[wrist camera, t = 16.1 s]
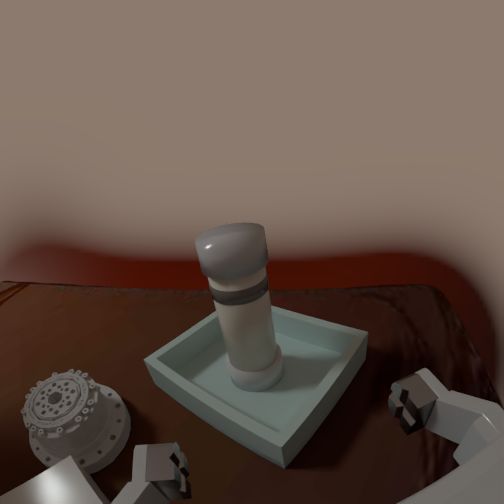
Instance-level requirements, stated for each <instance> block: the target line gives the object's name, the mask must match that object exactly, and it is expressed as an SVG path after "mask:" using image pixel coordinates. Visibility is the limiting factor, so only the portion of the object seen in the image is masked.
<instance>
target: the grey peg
mask: <svg viewBox="0 0 504 504" xmlns="http://www.w3.org/2000/svg"><path fill="white" fill-rule="evenodd" d="M195 244H196V248H197V253H198V257H199V261H200V265H201V269H202V273H203V274H204V275H205V276H207V277H208V279H209V286H210V290H211V294H212V298H213V299H214V303H215V307H216V311H217V315H218V319H219V323H220V327H221V331H222V334H223V338H224V342H225V346H226V349H227V355H226V364H227V367H228V371H229V374H230V377H231V381H232V383H233V384H234V385H235V386H236V387H237V388H239V389H241V390H243V391H247V392H260V391H264V390H267V389H270V388H272V387H273V386H275V385H276V384H277V383H278V382H279V381H280V380H281V378H282V376H283V373H284V368H283V360H282V352H281V348H280V346H279V345H278V344H277V343H276V337H275V331H274V324H273V317H272V310H271V303H270V296H269V290H268V288H269V285H268V278H267V272H266V269H265V265H266V264H267V263H268V260H269V259H268V251H267V244H266V238H265V231H264V227H263V226H261V225H259V224H255V223H234V224H228V225H223V226H219V227H216V228H213V229H210V230H208V231H206V232H203V233H202V234H200V235H199V236H198V237H197V238H196V239H195Z"/></svg>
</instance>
